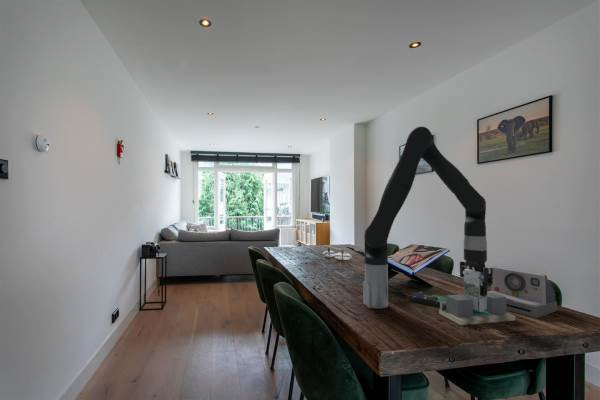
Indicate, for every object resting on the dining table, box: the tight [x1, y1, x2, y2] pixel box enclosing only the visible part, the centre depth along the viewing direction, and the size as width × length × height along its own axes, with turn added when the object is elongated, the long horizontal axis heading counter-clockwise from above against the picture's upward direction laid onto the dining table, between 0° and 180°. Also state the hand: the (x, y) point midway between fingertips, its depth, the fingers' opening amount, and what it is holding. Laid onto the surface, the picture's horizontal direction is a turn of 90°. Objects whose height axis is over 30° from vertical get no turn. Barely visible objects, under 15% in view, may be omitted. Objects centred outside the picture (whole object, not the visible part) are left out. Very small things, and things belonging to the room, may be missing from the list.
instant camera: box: [487, 266, 558, 319], centre depth 128 cm, size 21×21×15 cm
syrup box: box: [463, 269, 487, 312], centre depth 117 cm, size 6×6×14 cm
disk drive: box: [408, 291, 446, 308], centre depth 136 cm, size 10×3×15 cm
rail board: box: [438, 292, 516, 326], centre depth 117 cm, size 22×12×8 cm, turn 101°
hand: (475, 292), depth 117 cm, fingers closed on syrup box, 7 cm apart
